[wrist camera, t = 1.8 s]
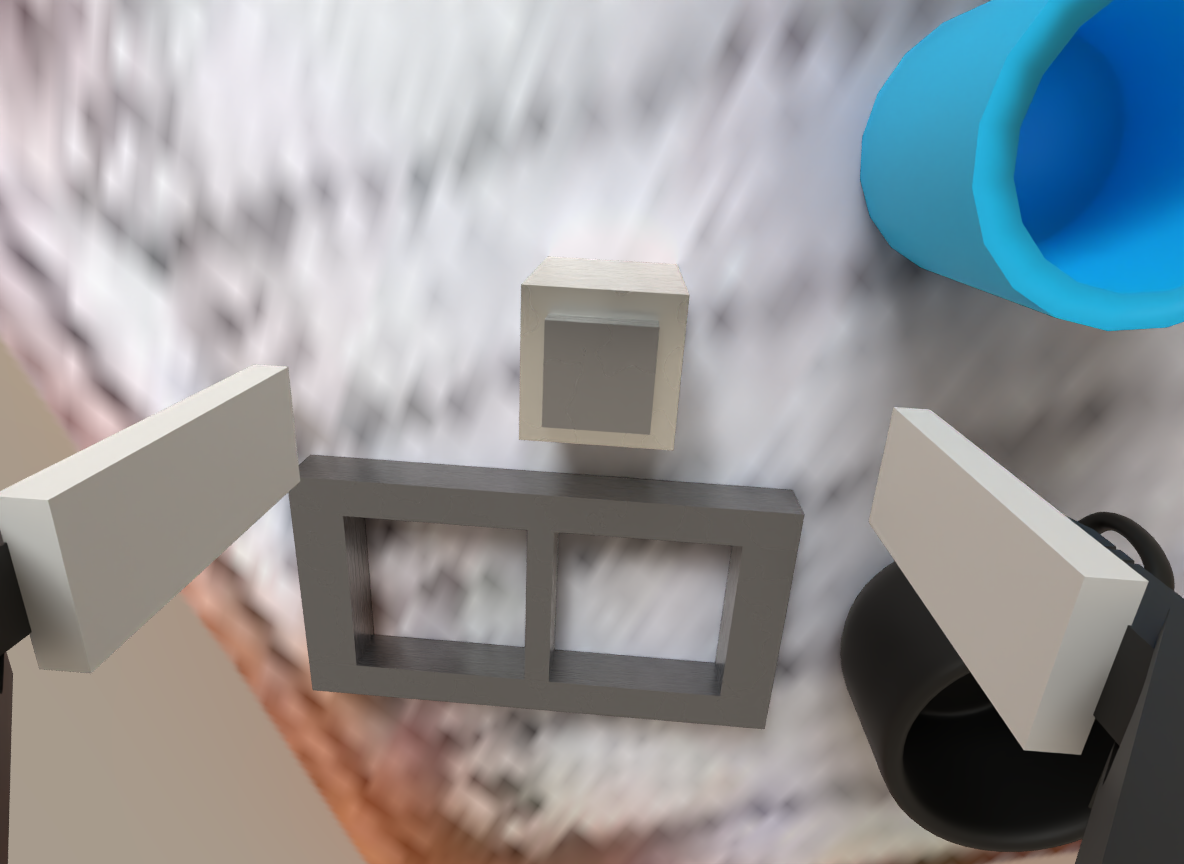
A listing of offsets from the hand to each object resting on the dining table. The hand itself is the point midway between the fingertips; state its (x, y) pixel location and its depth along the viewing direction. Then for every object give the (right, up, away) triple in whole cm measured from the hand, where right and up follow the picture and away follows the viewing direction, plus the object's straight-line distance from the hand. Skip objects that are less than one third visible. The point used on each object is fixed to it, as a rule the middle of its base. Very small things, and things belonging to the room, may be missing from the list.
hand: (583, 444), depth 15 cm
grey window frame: (-2, -6, +14) cm, 15 cm away
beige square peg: (+1, +4, +10) cm, 11 cm away
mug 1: (+14, +11, +7) cm, 19 cm away
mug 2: (+15, -6, +13) cm, 21 cm away
